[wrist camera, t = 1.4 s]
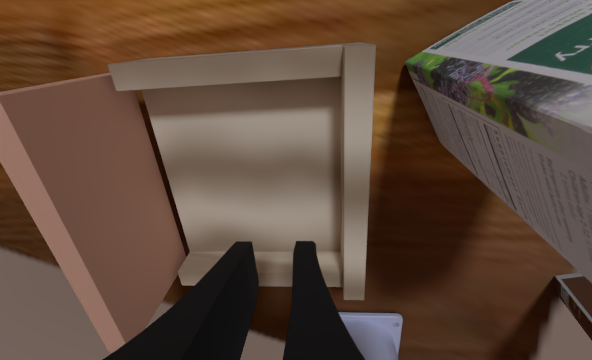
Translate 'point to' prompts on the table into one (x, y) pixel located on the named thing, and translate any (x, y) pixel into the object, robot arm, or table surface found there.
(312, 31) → the table surface
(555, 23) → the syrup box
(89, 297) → the panel
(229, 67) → the tray
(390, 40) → the table surface
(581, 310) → the food container
